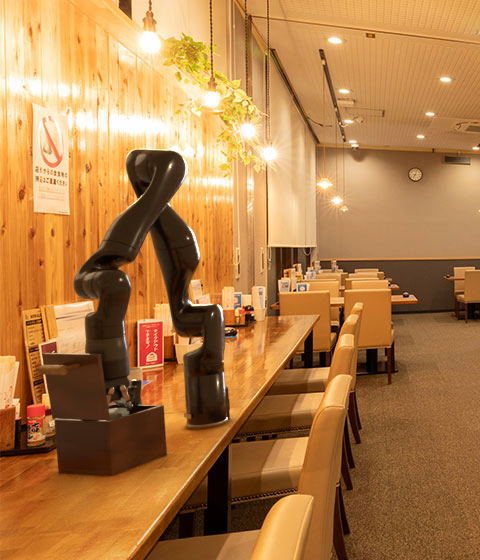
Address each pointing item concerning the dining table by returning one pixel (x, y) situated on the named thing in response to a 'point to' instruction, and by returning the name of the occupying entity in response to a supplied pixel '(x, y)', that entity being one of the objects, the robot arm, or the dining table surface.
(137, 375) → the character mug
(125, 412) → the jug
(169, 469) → the dining table surface
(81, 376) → the lid
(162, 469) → the dining table surface
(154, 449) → the chest
